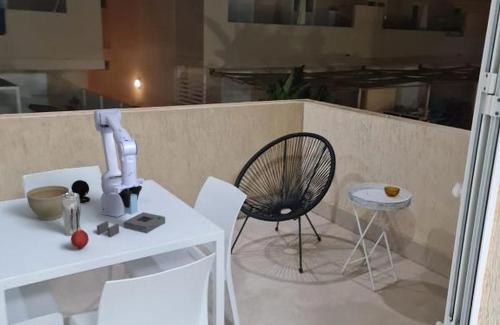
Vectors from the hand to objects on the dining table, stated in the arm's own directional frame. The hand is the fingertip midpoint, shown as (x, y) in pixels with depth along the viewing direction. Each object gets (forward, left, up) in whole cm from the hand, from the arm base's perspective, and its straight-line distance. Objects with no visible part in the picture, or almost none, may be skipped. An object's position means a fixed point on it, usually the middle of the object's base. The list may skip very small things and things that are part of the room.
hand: (130, 205), depth 182 cm
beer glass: (-16, -14, -10) cm, 24 cm away
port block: (+3, +5, -9) cm, 11 cm away
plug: (0, 0, -3) cm, 3 cm away
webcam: (-40, +14, -10) cm, 44 cm away
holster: (-4, -8, -9) cm, 13 cm away
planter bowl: (-37, -6, -10) cm, 39 cm away
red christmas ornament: (-3, -23, -10) cm, 25 cm away
